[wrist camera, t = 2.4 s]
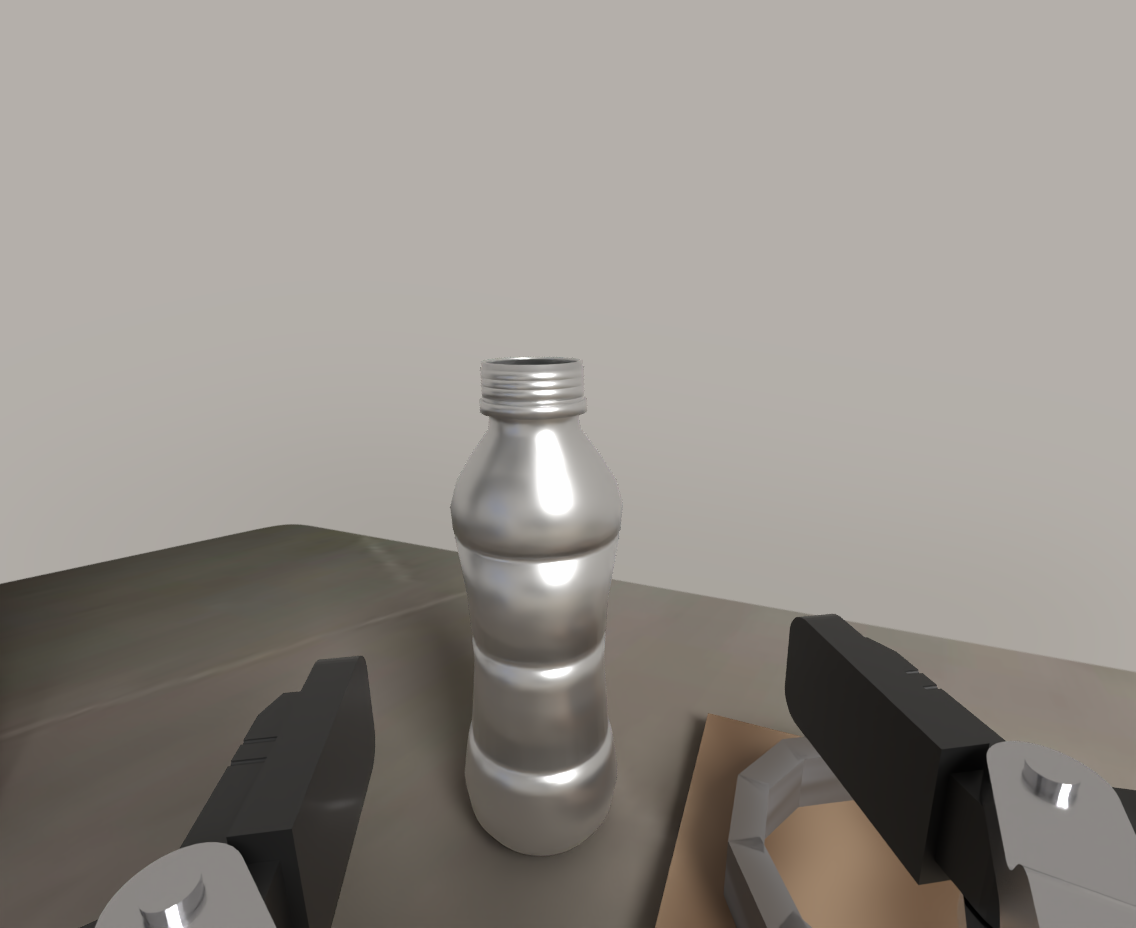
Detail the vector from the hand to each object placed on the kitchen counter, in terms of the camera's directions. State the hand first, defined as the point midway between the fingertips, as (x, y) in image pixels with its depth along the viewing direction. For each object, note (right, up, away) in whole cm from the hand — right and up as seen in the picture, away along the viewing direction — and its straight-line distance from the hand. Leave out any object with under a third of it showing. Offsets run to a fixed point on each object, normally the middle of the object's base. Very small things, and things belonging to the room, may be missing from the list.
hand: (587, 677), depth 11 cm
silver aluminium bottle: (-1, -12, +15) cm, 19 cm away
